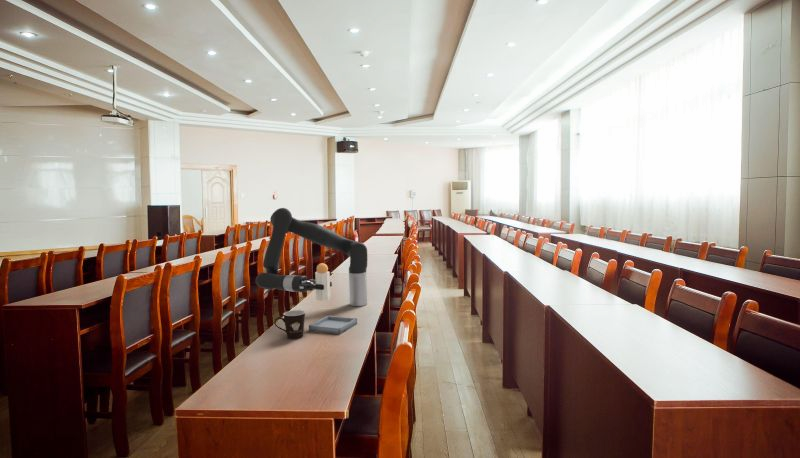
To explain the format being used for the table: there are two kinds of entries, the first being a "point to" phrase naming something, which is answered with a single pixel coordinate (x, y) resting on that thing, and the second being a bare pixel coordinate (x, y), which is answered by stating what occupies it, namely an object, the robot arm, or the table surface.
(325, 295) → the white hexagonal prism
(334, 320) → the tray
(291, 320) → the coffee mug
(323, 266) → the ball
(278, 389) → the table surface
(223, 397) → the table surface
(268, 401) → the table surface
